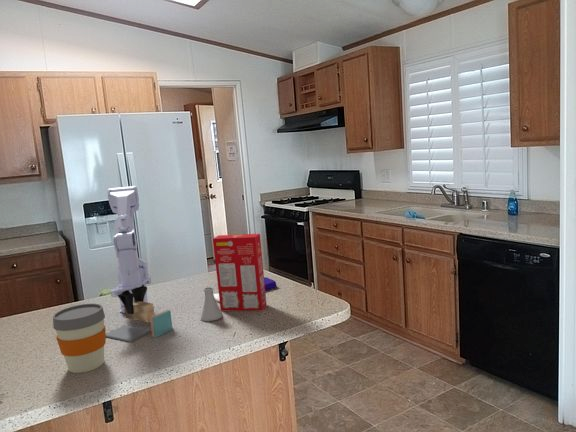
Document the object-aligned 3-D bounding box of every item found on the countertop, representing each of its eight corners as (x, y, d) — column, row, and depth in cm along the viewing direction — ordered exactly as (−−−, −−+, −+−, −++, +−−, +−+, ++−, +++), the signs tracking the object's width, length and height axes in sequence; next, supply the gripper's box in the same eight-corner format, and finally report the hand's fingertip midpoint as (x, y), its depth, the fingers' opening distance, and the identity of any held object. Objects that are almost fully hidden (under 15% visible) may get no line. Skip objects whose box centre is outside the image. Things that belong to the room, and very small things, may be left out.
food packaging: (266, 304, 160) (259, 233, 157) (262, 310, 155) (255, 236, 152) (225, 305, 164) (218, 235, 160) (220, 310, 159) (212, 238, 155)
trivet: (103, 336, 144) (103, 334, 144) (124, 326, 151) (124, 325, 151) (130, 342, 138) (130, 340, 138) (151, 331, 145) (150, 330, 145)
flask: (218, 322, 148) (215, 291, 147) (197, 322, 150) (193, 292, 148) (225, 313, 156) (222, 284, 154) (205, 313, 157) (202, 285, 155)
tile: (152, 336, 141) (149, 317, 140) (169, 328, 147) (166, 309, 146) (156, 337, 140) (153, 318, 139) (172, 328, 146) (170, 310, 145)
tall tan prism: (125, 317, 149) (123, 302, 148) (132, 314, 152) (130, 299, 151) (147, 322, 144) (145, 306, 143) (154, 318, 147) (153, 303, 146)
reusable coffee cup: (116, 364, 124) (108, 310, 122) (65, 381, 117) (56, 324, 114) (104, 350, 134) (97, 299, 132) (56, 364, 127) (48, 312, 125)
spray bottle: (264, 276, 187) (207, 291, 175) (278, 281, 178) (219, 297, 165) (265, 283, 188) (208, 298, 175) (279, 289, 178) (220, 305, 166)
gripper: (119, 277, 138) (125, 321, 140) (155, 264, 151) (160, 305, 153) (103, 275, 142) (109, 318, 144) (140, 263, 154) (145, 302, 156)
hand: (135, 311), depth 149 cm, fingers closed on tall tan prism, 3 cm apart
